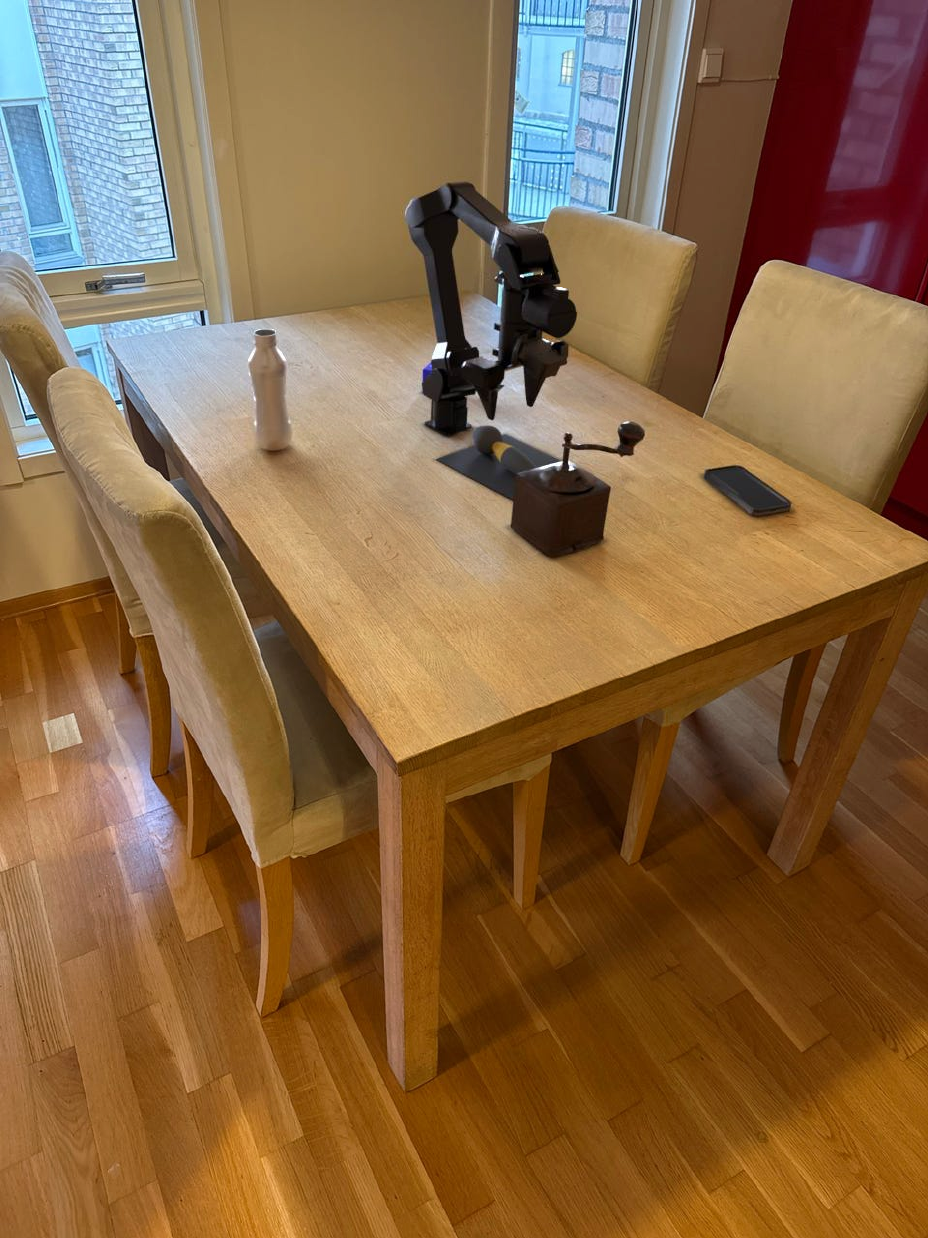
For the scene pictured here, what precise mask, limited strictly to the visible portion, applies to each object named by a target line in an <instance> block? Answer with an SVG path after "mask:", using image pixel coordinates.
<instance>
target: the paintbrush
mask: <svg viewBox="0 0 928 1238" xmlns="http://www.w3.org/2000/svg"><path fill="white" fill-rule="evenodd" d="M502 435H503V434H502V432H501V430H499V428H497V427H496V426H493V425H488V424H487V425H480V426H476V427H474V430H473V433H472V442H473V446H475V448H476V449H477V450H478V451H479V452H480V453H482V454H486V455H489V454H493V453H494V454H495V455H496V457H497V458H498V460H499V461H500V463H501V464H502V465H503V466H504V467H505V468H507V469H508V470H509V471H511V472H512V473H514V474H515V475H516V473H520V472H524V471H527V470H531V469H535V468H537V467H536V466H535V464H534V463H533V462H532V461H531V460H530V459H529V458H528V457H527V456H526V455H525V454H524V453H522V452H521V451H520V450H518V449H517V448H515V447H513V446H511V445H508V444H505V443H502Z"/></svg>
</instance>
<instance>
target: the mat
mask: <svg viewBox="0 0 928 1238" xmlns="http://www.w3.org/2000/svg"><path fill="white" fill-rule="evenodd" d="M501 435H502V443H505V444H508V445H511V446H513V447H515V448H517V449H518V450H520V451H521V452H522V453H524V454H525V455H526V456H527V457H528V458H529V459H530V460H531V461H532V462H533V463H534V464H535V466H536V467H537V468H539V467H543V466H547V465H551V464H554V463H558V462H562V460H561V459H559V458H556V457H554V456H552V455H550V454H548V453H546V452H545V451H542V450H540V449H538V448H535V447H533V446H531V445H529V444H528V443H525V442H523V441H521V440H519V439H516V438H514V437H512V436H511V435H508V434H506V433H504V434H501ZM435 460H436V461H437V462H438V463H441V464H443V465H445V466H446V467H448V468H450V469H452V470H454V471H456V472H458V473H460V474H462V475H464V476H465V477H467V478H469V479H471V480H473V481H474V482H476V483H478V484H480V485H482V486H483V487H486V488H487V489H489V490H491V491H493V492H495V493H497V494H498V495H501V496H503V497H505V498H507V499H508V500H510V501H512V502H513V497H514V488H515V476H516V475H515V474H514V473H512V472H511V471H509V470H508V469H507V468H505V467H504V466H503V465H502V464H501V463H500V461H499V460H498V458H497V457H496V455H495V454H494V453H493V454H489V455H486V454H482V453H480V452H479V451H478V450H477V449H476V448H475V446H474V445H471V446H468V447H465V448H462V449H460V450H457V451H454V452H452V453H449V454H446V455H443V456H441V457H438V458H435Z"/></svg>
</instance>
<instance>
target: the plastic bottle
mask: <svg viewBox="0 0 928 1238" xmlns="http://www.w3.org/2000/svg"><path fill="white" fill-rule="evenodd" d="M277 335H278V334H277V331H276V330H275V329H273V328H259V329H256V330H254V331H253V346H255V348H254V349H253V351H252V352H251V354H250V356H249V358H248V360H247V371H248V375H249V380H250V383H251V387H252V388H251V389H252V393H253V401H254V425H253V436H254V439H255V443H256V444H257V445H258V447H259V448H261V449H263V450H266V451H279V450H283V449H284V450H285V448H288V447H289V446H290V444H291V442H292V439H293V428H292V423H291V421H290V416H289V409H288V404H287V377H288V376H287V373H288V362H287V360H286V358H285V355H284V354H283V353H282V351H281V350H280V349H279V348H278V347H277V345H278V343H279V341H278V338H277Z"/></svg>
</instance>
